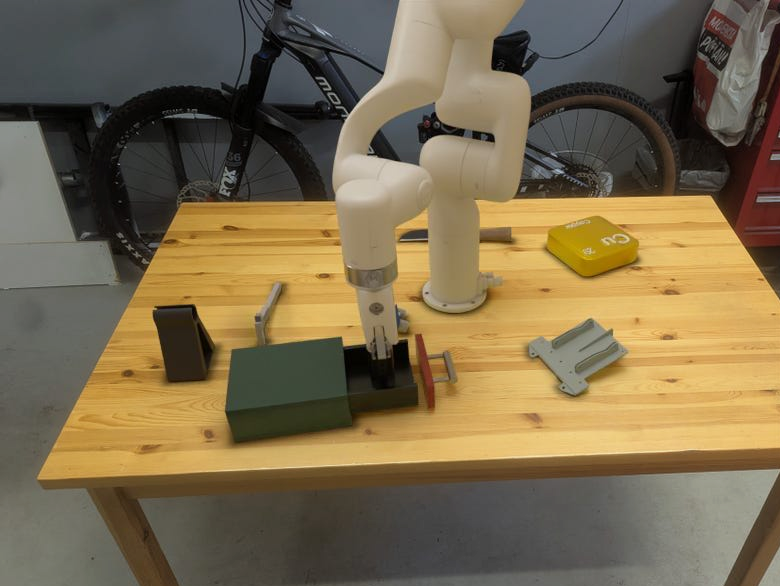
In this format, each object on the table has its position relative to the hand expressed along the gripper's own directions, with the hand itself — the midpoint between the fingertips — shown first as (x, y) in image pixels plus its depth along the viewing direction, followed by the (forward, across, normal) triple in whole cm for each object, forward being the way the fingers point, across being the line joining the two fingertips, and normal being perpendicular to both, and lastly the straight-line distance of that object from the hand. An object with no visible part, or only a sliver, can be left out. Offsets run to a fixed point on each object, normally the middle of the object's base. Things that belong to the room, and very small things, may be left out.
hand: (381, 364), depth 106 cm
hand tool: (+5, +47, -21) cm, 52 cm away
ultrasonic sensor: (+6, +17, -4) cm, 19 cm away
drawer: (+5, 0, -1) cm, 5 cm away
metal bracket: (+6, +1, -34) cm, 35 cm away
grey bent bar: (+6, +25, +18) cm, 32 cm away
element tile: (+6, +35, -48) cm, 60 cm away
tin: (+4, 0, 0) cm, 4 cm away
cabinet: (+6, 0, +14) cm, 16 cm away
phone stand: (+6, +13, +32) cm, 35 cm away
